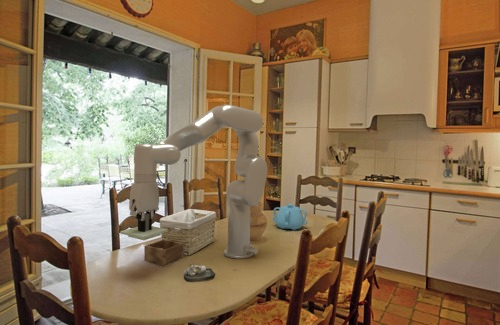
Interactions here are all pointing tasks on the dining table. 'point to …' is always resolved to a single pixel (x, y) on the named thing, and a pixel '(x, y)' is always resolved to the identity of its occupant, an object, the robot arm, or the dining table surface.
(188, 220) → the storage basket
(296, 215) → the decorative pot
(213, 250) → the dining table surface
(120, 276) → the dining table surface
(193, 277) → the grey oval ornament
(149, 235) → the lid
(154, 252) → the box
